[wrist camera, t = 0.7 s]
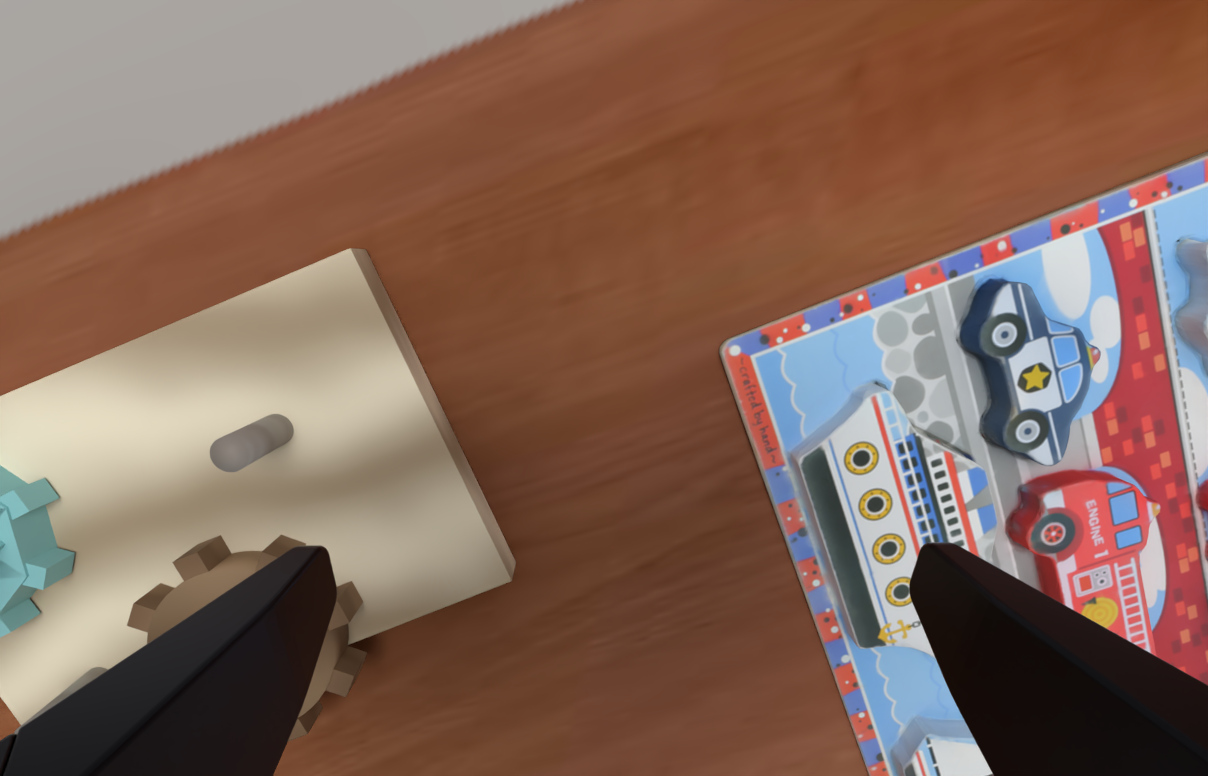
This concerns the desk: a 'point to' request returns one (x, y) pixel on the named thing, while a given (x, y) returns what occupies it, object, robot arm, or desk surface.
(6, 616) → the teal gear
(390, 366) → the gear board
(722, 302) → the desk surface
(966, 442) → the puzzle board
